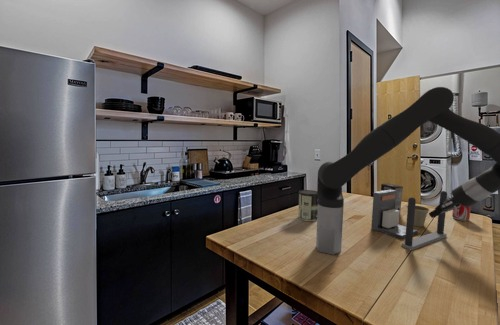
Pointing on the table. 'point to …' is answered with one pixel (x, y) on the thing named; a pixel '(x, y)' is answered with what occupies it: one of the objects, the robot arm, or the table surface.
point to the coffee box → (398, 194)
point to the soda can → (461, 213)
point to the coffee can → (308, 205)
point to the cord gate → (425, 239)
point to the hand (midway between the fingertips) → (431, 215)
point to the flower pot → (420, 215)
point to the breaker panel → (383, 203)
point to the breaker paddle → (390, 218)
